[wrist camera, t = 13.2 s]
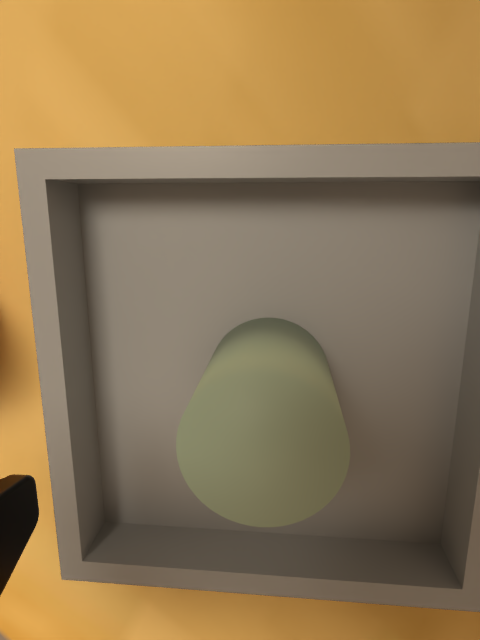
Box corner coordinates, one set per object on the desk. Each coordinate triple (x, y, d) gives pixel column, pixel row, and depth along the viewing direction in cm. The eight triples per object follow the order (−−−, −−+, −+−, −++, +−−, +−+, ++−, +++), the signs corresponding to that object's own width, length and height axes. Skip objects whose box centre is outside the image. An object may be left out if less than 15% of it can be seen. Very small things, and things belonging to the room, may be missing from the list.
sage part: (331, 318, 14) (355, 372, 10) (326, 431, 15) (345, 532, 11) (209, 316, 15) (172, 367, 10) (211, 426, 16) (178, 521, 11)
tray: (508, 154, 13) (560, 141, 11) (454, 552, 17) (485, 612, 14) (60, 159, 15) (14, 148, 12) (92, 527, 18) (61, 579, 15)
